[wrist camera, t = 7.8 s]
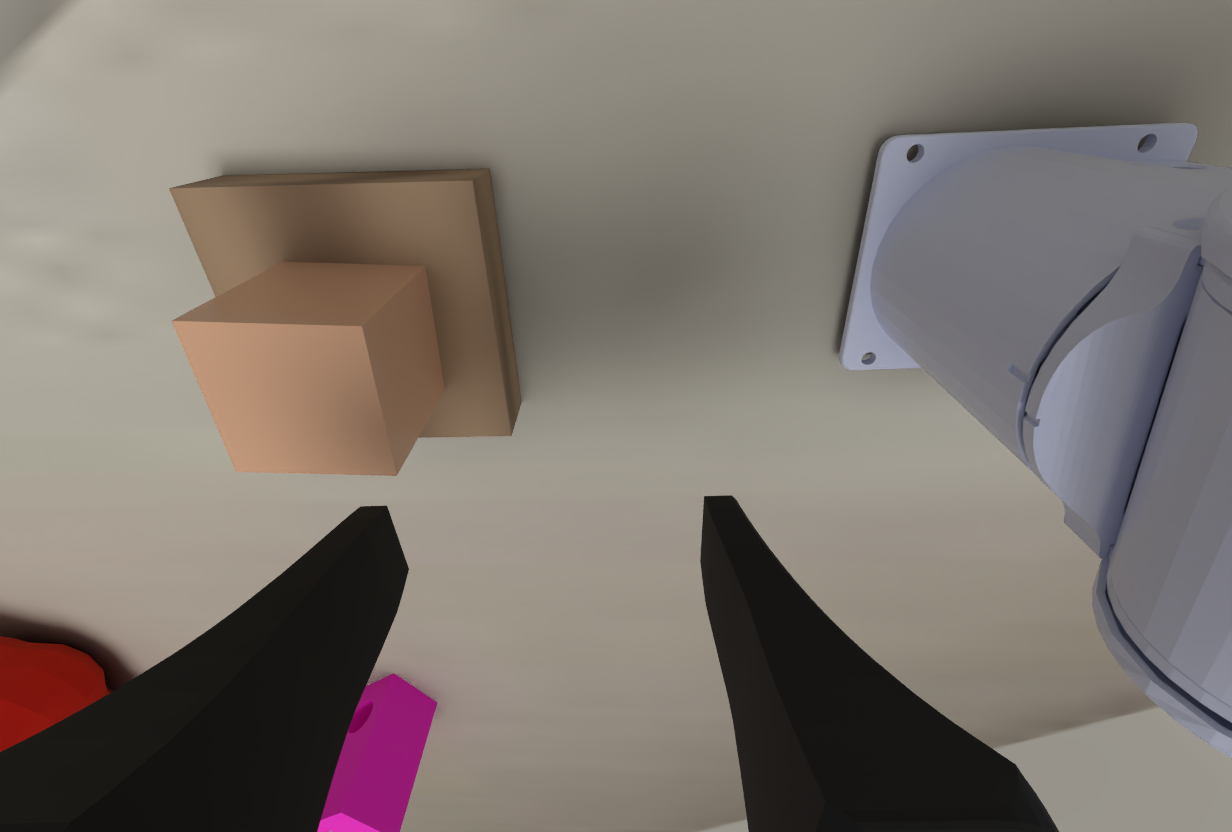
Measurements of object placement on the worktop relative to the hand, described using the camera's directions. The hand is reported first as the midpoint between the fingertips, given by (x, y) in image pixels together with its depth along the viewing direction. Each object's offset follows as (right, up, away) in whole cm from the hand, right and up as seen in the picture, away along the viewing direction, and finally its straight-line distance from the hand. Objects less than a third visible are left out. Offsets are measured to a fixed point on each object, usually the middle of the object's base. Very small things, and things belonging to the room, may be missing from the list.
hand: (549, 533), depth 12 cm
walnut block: (-7, +7, +8) cm, 13 cm away
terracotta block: (-7, +6, +6) cm, 11 cm away
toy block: (-16, -18, +24) cm, 35 cm away
